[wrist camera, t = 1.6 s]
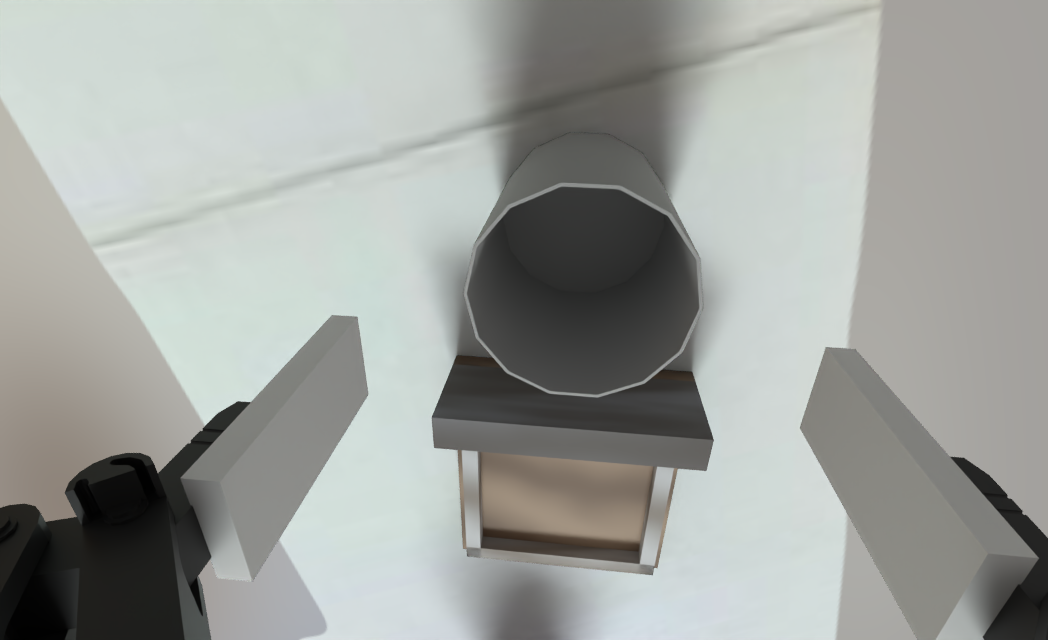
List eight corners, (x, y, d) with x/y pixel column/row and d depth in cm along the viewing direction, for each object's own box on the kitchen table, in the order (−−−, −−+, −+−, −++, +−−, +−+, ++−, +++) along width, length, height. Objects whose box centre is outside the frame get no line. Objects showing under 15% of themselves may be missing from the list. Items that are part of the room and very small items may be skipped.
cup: (678, 136, 25) (727, 190, 17) (654, 293, 29) (683, 404, 21) (502, 129, 26) (459, 177, 17) (501, 283, 30) (466, 387, 21)
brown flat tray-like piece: (456, 355, 32) (431, 417, 27) (692, 371, 31) (713, 440, 26) (465, 537, 40) (447, 613, 35) (655, 555, 39) (666, 637, 34)
